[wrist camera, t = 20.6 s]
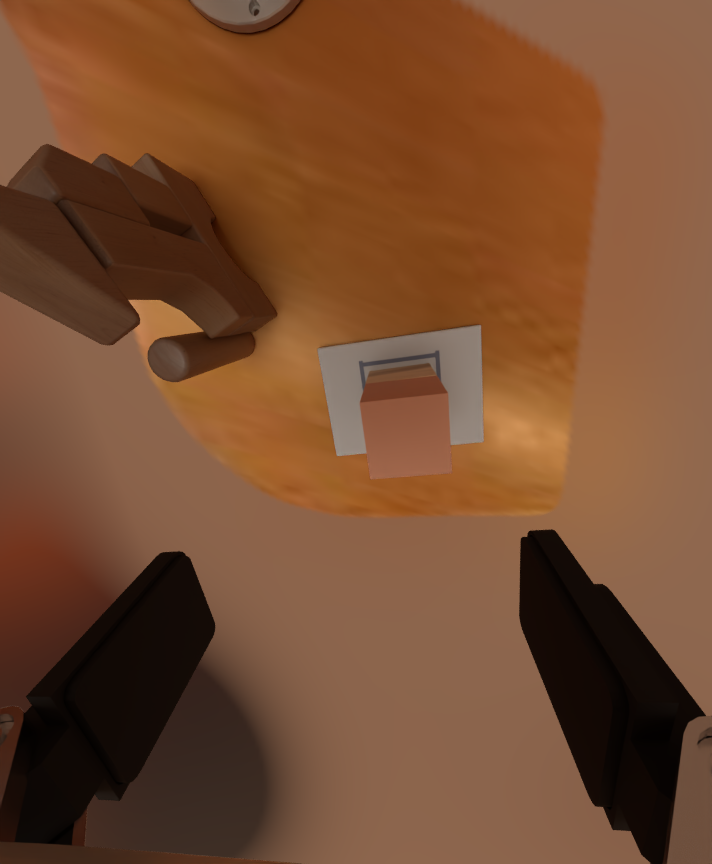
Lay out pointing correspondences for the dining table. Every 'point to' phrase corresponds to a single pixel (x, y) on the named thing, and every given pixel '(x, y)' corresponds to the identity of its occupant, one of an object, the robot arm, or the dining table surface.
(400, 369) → the birch block
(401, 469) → the rust block
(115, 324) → the wooden toy
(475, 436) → the board
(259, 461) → the dining table surface
